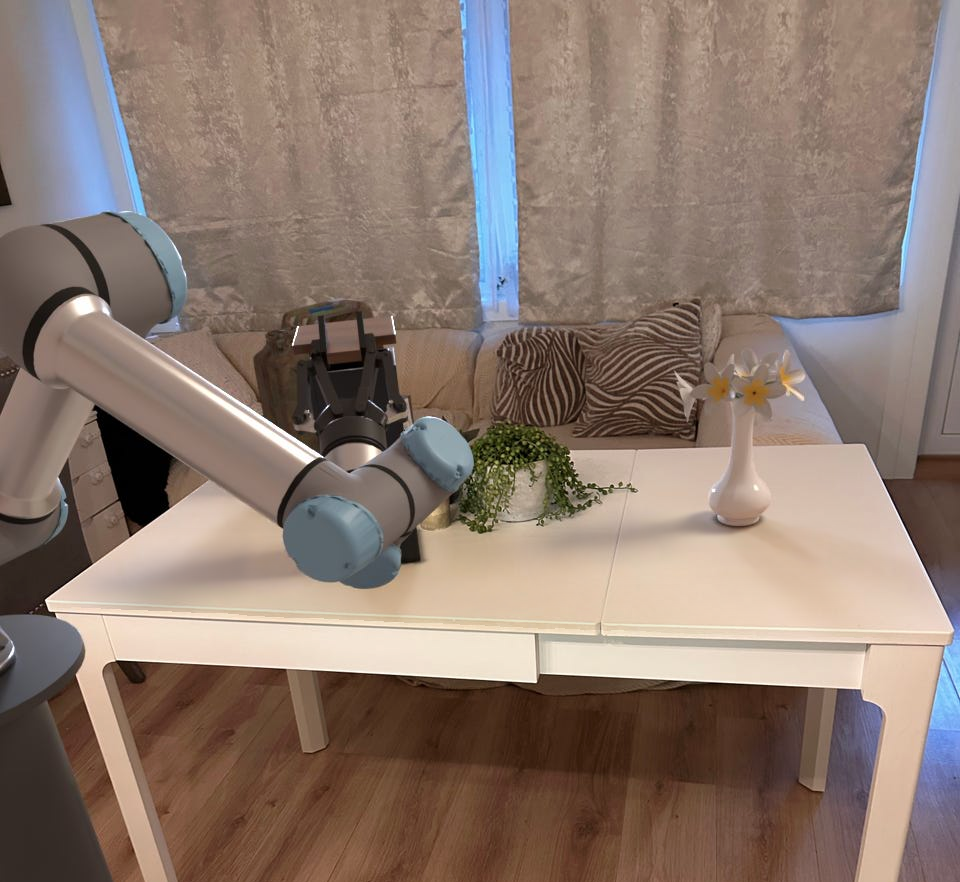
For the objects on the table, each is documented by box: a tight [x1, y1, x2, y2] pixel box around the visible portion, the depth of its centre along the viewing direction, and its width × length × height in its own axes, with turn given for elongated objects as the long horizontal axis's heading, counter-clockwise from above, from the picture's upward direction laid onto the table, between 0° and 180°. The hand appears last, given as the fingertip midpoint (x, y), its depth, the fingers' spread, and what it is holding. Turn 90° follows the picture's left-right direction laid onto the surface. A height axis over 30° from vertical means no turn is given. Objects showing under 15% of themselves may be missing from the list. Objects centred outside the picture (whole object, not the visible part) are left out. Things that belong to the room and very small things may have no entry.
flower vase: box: [673, 347, 806, 527], centre depth 138 cm, size 13×18×25 cm
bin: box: [310, 346, 422, 564], centre depth 139 cm, size 12×12×29 cm
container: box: [252, 298, 374, 455], centre depth 175 cm, size 23×10×30 cm, turn 133°
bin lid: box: [292, 315, 398, 364], centre depth 121 cm, size 20×13×2 cm, turn 7°
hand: (341, 322), depth 118 cm, fingers closed on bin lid, 4 cm apart
